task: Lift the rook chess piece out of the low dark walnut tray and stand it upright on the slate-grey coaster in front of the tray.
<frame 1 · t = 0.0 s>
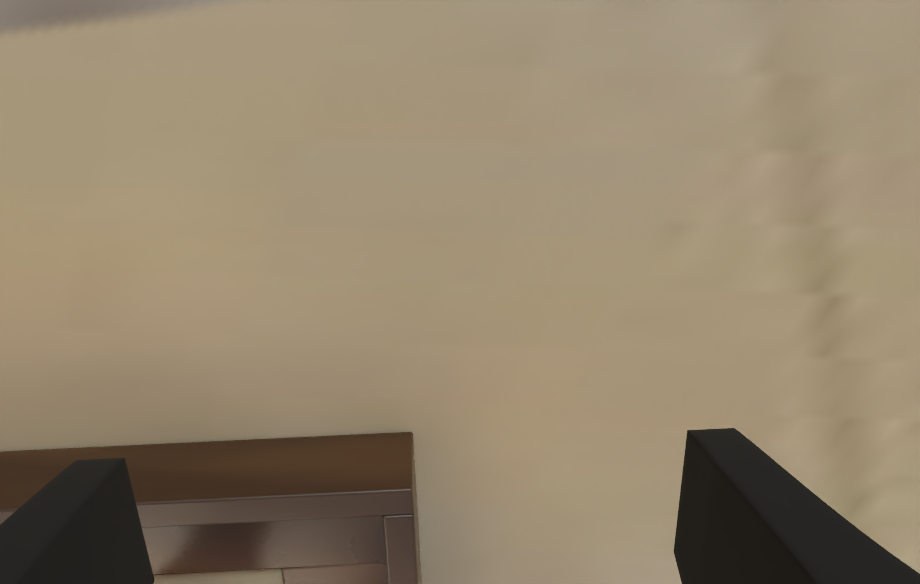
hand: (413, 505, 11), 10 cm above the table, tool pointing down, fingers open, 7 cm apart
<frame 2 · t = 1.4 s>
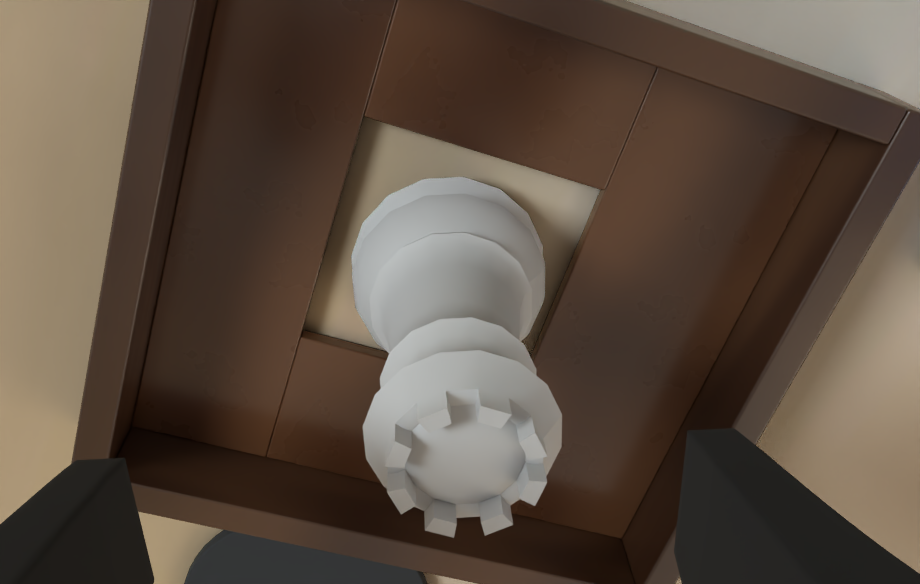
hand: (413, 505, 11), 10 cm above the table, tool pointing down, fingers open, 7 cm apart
rook chess piece: (447, 256, 21), resting in tray
tray: (463, 276, 21), on the table
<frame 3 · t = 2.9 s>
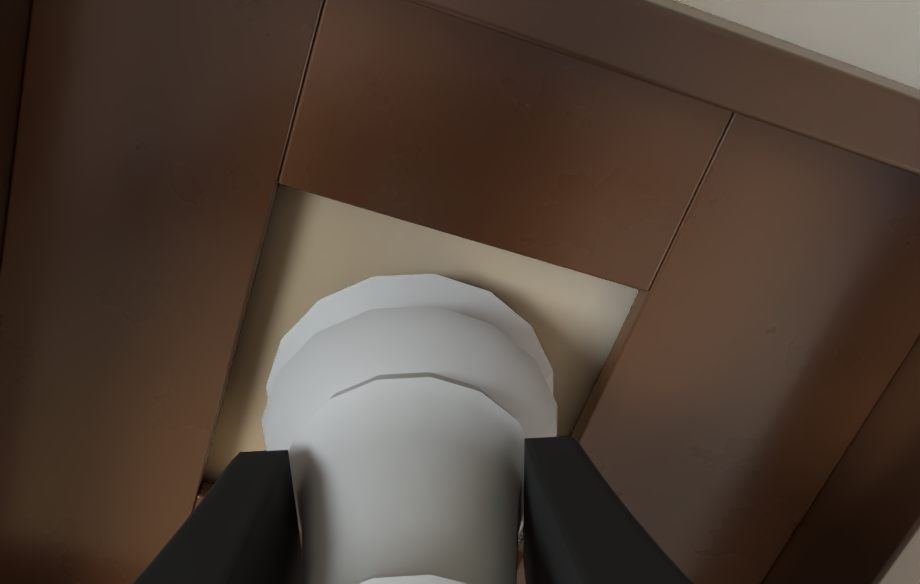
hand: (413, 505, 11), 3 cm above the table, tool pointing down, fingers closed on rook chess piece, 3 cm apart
rook chess piece: (412, 379, 14), resting in tray, touching gripper
tray: (436, 408, 14), on the table
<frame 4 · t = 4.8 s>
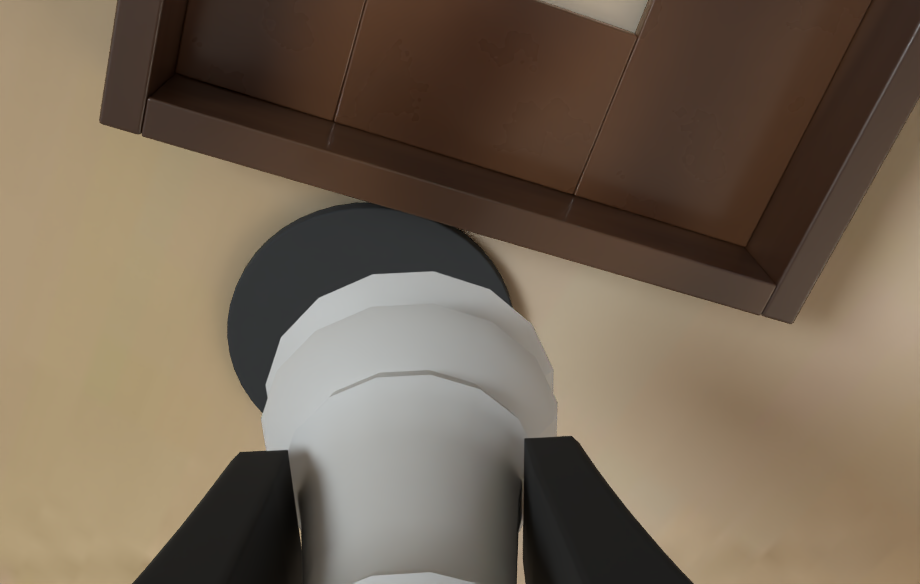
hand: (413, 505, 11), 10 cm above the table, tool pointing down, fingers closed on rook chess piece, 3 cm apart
rook chess piece: (412, 377, 14), point 7 cm above the table, touching gripper
coaster: (373, 334, 21), on the table
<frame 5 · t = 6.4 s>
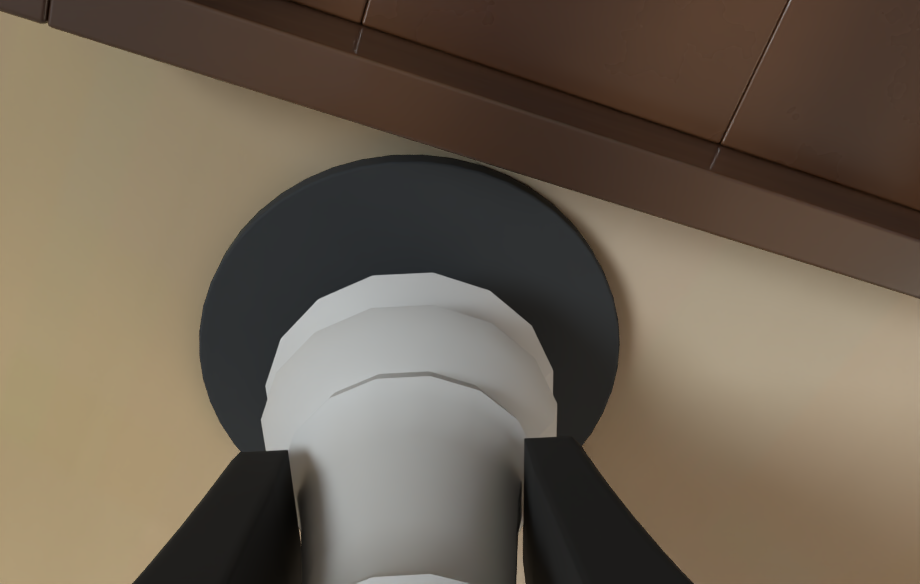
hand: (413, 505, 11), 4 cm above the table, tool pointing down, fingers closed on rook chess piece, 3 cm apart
rook chess piece: (411, 378, 14), point 1 cm above the table, touching gripper
coaster: (412, 351, 15), on the table
when the fingers open (3 cm above the table, at t = 6.9 s): rook chess piece stays where it is, resting on coaster.
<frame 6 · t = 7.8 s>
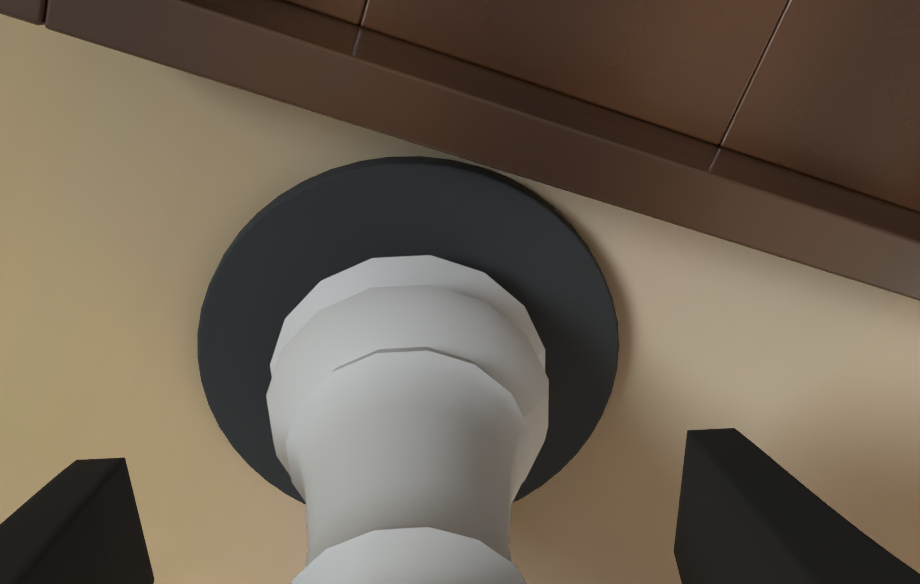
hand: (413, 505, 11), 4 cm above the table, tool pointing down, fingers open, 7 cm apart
rook chess piece: (409, 358, 15), resting on coaster
coaster: (410, 353, 15), on the table
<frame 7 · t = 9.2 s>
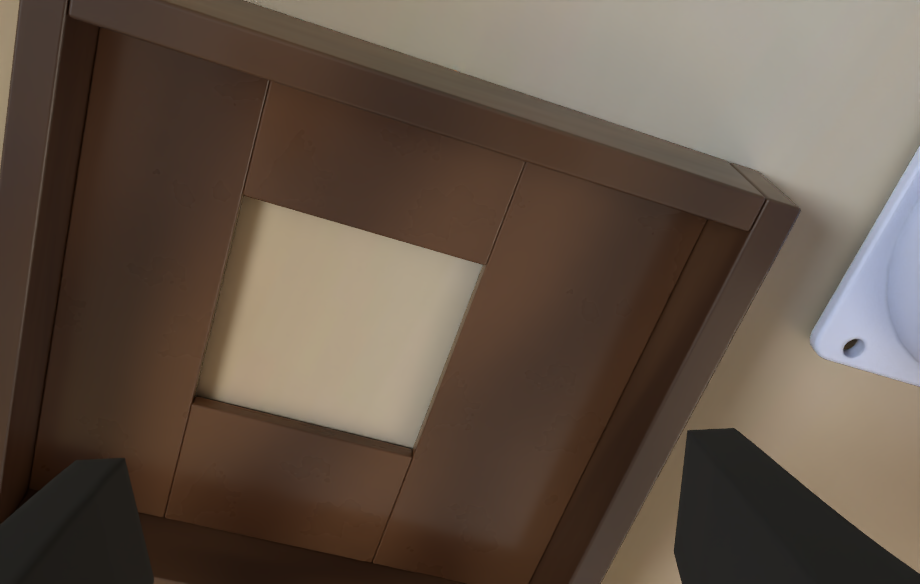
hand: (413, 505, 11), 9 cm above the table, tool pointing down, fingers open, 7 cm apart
tray: (352, 344, 21), on the table
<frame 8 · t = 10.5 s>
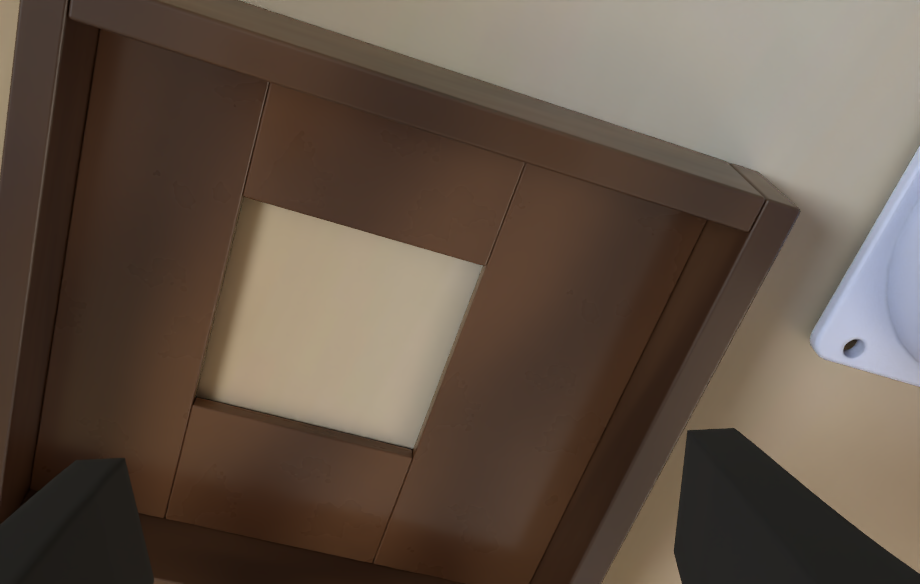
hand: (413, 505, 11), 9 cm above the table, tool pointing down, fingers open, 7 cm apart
tray: (352, 345, 21), on the table
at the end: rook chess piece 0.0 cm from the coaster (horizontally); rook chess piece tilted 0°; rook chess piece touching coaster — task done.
